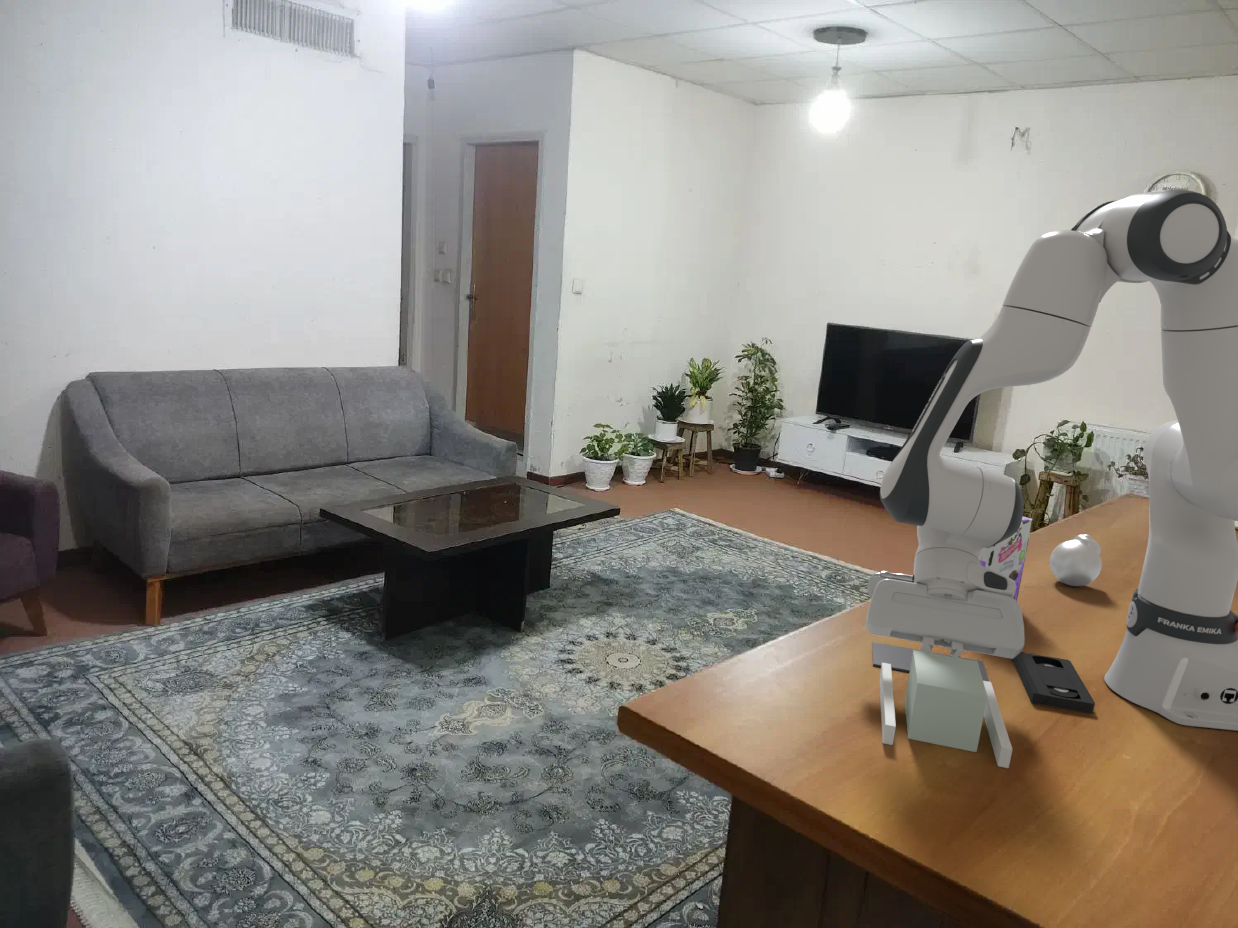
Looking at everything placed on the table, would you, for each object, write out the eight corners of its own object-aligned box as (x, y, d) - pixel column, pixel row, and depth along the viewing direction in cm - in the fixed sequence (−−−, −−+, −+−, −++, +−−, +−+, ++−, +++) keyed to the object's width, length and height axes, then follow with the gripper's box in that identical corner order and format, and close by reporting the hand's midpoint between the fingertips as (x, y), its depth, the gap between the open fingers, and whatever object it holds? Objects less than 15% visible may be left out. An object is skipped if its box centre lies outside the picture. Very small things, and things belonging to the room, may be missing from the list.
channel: (982, 662, 133) (985, 647, 132) (1015, 769, 105) (1019, 750, 104) (872, 643, 137) (874, 628, 136) (875, 741, 108) (878, 723, 108)
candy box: (979, 623, 148) (997, 529, 144) (946, 611, 153) (963, 519, 149) (1017, 606, 157) (1034, 517, 154) (985, 595, 162) (1001, 508, 158)
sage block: (967, 713, 117) (977, 661, 116) (976, 752, 108) (987, 695, 106) (904, 701, 119) (913, 649, 117) (907, 738, 110) (917, 683, 108)
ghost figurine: (1108, 595, 167) (1120, 544, 165) (1058, 591, 167) (1069, 540, 165) (1085, 578, 176) (1095, 529, 173) (1037, 574, 176) (1047, 525, 173)
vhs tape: (1092, 717, 120) (1095, 703, 120) (1030, 706, 122) (1033, 692, 121) (1067, 671, 134) (1069, 659, 133) (1011, 662, 135) (1013, 650, 135)
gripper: (872, 558, 125) (861, 651, 118) (1028, 583, 120) (1027, 681, 113) (867, 578, 130) (857, 668, 123) (1017, 602, 125) (1015, 697, 118)
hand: (939, 674), depth 118 cm, fingers closed, pressing on sage block
